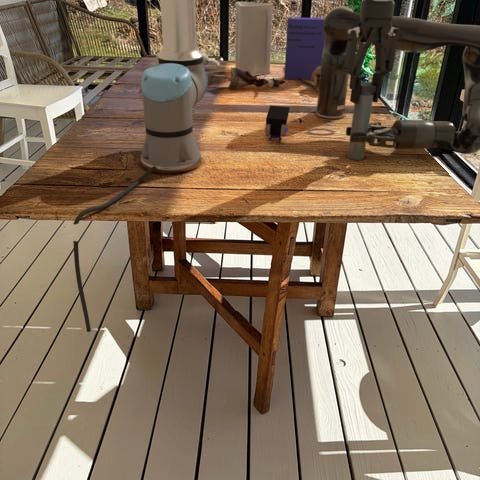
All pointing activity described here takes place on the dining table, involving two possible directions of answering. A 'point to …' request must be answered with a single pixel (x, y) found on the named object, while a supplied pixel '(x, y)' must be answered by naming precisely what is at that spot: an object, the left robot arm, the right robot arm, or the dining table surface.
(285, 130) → the figurine character
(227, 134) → the dining table surface
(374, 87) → the lid
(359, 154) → the grey cylinder
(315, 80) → the anatomical model
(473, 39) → the right robot arm
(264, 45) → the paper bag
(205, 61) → the toy
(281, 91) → the dining table surface
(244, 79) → the figurine
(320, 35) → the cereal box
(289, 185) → the dining table surface
